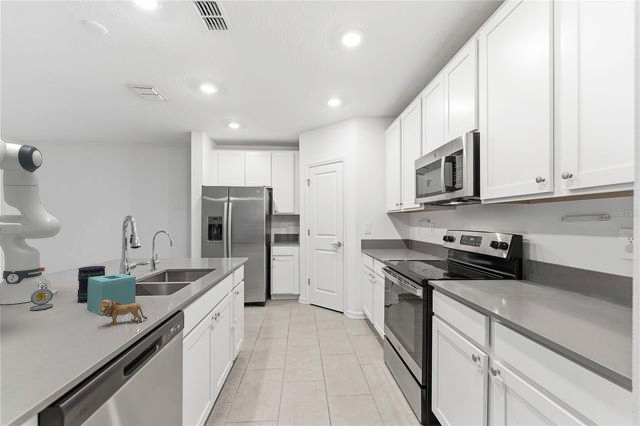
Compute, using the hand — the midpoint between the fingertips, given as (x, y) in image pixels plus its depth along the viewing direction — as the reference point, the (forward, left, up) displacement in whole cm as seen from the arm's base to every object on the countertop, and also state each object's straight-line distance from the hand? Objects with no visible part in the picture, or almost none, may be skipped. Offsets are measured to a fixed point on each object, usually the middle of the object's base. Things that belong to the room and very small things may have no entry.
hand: (33, 228), depth 102 cm
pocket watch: (-19, -7, -34) cm, 40 cm away
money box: (-10, +21, -34) cm, 41 cm away
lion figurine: (+10, +32, -34) cm, 48 cm away
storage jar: (-27, +7, -34) cm, 44 cm away
